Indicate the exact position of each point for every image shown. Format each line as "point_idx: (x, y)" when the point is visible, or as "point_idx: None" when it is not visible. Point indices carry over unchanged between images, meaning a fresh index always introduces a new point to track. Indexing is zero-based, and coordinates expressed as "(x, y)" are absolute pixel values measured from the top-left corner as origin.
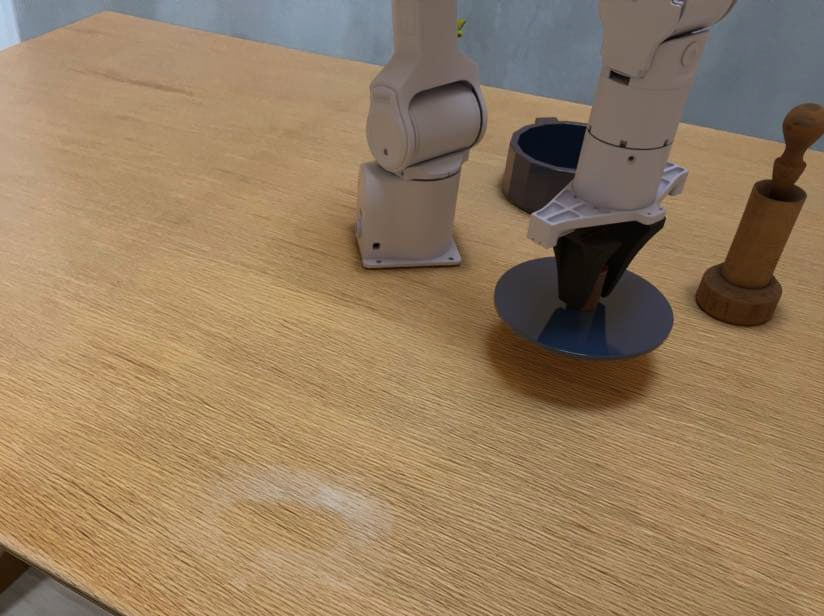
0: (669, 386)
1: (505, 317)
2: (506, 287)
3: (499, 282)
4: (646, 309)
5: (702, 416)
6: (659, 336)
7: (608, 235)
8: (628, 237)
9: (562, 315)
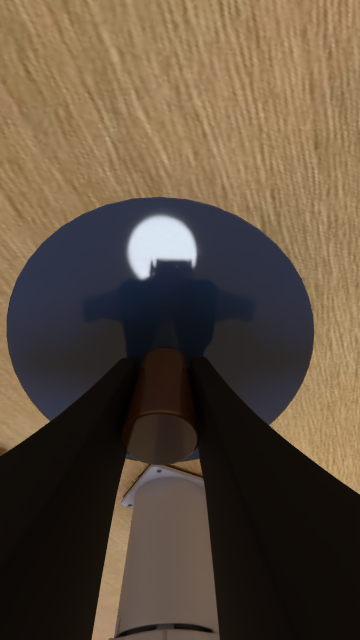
0: (102, 203)
1: (292, 397)
2: None
3: None
4: (75, 297)
5: (109, 116)
6: (119, 216)
7: (89, 544)
8: (49, 552)
9: (221, 361)
